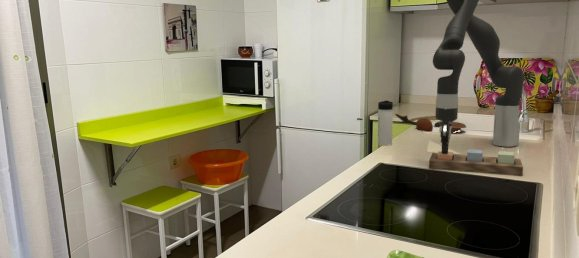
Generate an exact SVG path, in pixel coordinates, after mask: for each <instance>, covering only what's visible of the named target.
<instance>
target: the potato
mask: <svg viewBox="0 0 579 258" xmlns="http://www.w3.org/2000/svg"><path fill="white" fill-rule="evenodd" d="M415 122H416V125H415V127H416V129H417V130H419V131H421V132H432V131H433V129H434V125H433V122H432V120H429V119H426V118H423V119H419V120H416V121H415Z"/></svg>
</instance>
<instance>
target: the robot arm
mask: <svg viewBox="0 0 579 258" xmlns="http://www.w3.org/2000/svg"><path fill="white" fill-rule="evenodd" d="M479 1H480V0H446V3H447V5H448V7H449V9H450V10H451V11H452V13H453V14H454V16H453V17H452V19H451V20H450V21H449V23H447V26H446V27H445V31H444V34H443V39H442V41H441V43H440V44H439V46H438V47H437V49H436V50H435V52H434V55H433V56H432V65H433V66H434V68H435V69H437V70H439V71H440V70H441V71H452V72H451V73H450V74H449V75H446V76H445V75H444V76H441V77H439V78H438V79H437V86H436V98H435V113H434V114H435V115H434V116H435V118H436V119H437V120H442V124H440V126H439V130H440V131H439V133H440V134H439V137H440V143H441V153H442V154H447V153H448V152H449V144H450V139H451V135H452V133H451V129H452V124H450V120H455V121H457V120H458V116H459V115H458V113H459V94H458V93H459V80H460V76H461V73H462V71H463V67H464V65H465V62H466V55H465V53H464V52H463V50H461V49H462V47H463V45H464V41H465V39H466V38H465V37H466V34H467V35H468V37H469V39H470V41H471V43H472V44H473V45H474V46H473V47H474V48H475V50H476V51H477V53H478V54H479V56H480V59H481V60H482V62H483V64H484V66H485V68H486V70H487V72H488V75H489V77H490V79H491V82H492V84H494V86H495V87H497V88H500V89H505V91H504V94H503V95H501V96H497V97H495V102H494V119H493V120H494V121H493V134H492V144H493V145H494V146H498V147H516V146H520V145H519V144H520V143H519V142H520V131H521V130H520V128H521V122H519V113H520V112H519V111H520V102H521V98H522V96H523V89H524V79H525V74H524V71H523V69H522V68H521V67H520V66H505V64H504V63H503V62H502V60H501V59H500V56H499V51H500V48H501V47H500V46H501V41H500V37H499V36H498V34H497V32H496V30H495V28H494V27H493V25H492V24H490V23H488V22H487V21H485V20H484V19H482V18H479V17H477V16H476V15H474V12H475V10H476V8H477V6H478V3H479Z"/></svg>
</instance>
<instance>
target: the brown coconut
mask: <svg viewBox="0 0 579 258" xmlns="http://www.w3.org/2000/svg"><path fill="white" fill-rule="evenodd" d="M450 124H452V129H451V132H455V131H458V130H461V131H462V129H465V128H467V125H466V124H465V123H462V122H458V121H453V122H450Z"/></svg>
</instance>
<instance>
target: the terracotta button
mask: <svg viewBox="0 0 579 258" xmlns="http://www.w3.org/2000/svg"><path fill="white" fill-rule="evenodd" d="M441 152H442V150H441V151H439V150H438V152H437V153H438V154H437V159H445V160H453V154H454V152H453V151H448V153H447V154H442V153H441Z"/></svg>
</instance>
